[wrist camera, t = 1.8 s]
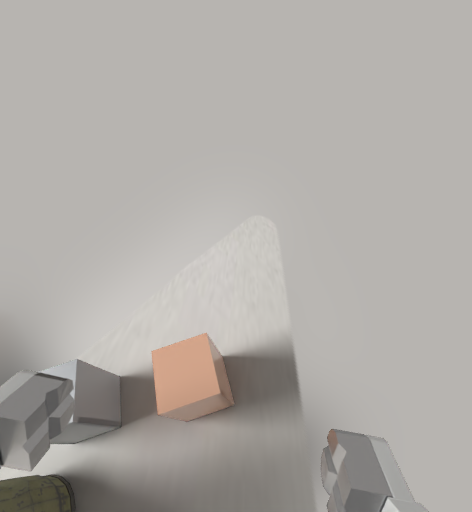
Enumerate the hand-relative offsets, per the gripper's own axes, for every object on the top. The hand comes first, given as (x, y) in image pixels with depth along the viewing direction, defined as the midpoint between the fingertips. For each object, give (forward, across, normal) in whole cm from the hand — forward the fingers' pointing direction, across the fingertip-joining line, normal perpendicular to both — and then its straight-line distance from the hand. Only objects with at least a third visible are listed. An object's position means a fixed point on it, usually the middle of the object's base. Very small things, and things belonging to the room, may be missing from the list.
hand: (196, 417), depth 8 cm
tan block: (+22, +2, +21) cm, 31 cm away
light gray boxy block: (+20, +16, +26) cm, 37 cm away
